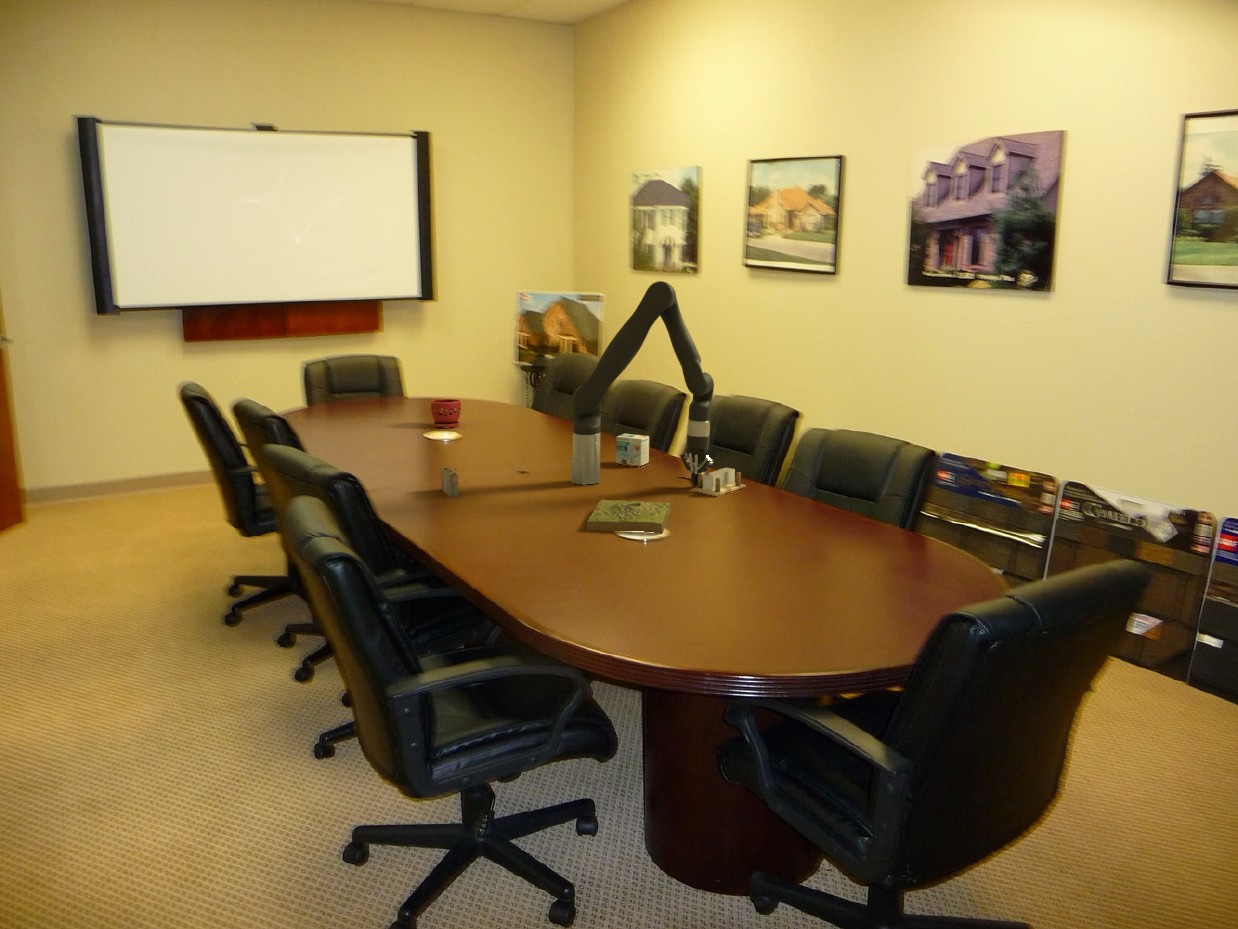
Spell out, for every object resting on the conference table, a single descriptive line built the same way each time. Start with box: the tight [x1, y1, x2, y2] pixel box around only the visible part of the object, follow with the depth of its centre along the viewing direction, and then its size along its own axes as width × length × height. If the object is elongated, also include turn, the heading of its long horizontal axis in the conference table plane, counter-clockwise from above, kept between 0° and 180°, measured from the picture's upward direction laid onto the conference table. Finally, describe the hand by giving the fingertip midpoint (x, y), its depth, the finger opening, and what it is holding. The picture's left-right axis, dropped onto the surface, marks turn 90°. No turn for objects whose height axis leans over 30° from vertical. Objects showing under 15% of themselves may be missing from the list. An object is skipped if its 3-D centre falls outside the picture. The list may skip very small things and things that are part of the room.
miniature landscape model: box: [586, 499, 672, 535], centre depth 285 cm, size 22×24×5 cm
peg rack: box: [692, 468, 746, 497], centre depth 322 cm, size 16×10×6 cm, turn 137°
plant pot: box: [430, 398, 462, 429], centre depth 432 cm, size 13×13×12 cm
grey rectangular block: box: [703, 467, 736, 491], centre depth 322 cm, size 14×4×5 cm, turn 142°
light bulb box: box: [615, 433, 650, 466], centre depth 359 cm, size 11×7×11 cm, turn 62°
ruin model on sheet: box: [440, 466, 459, 498], centre depth 316 cm, size 11×3×10 cm, turn 24°
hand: (695, 483), depth 327 cm, fingers closed
